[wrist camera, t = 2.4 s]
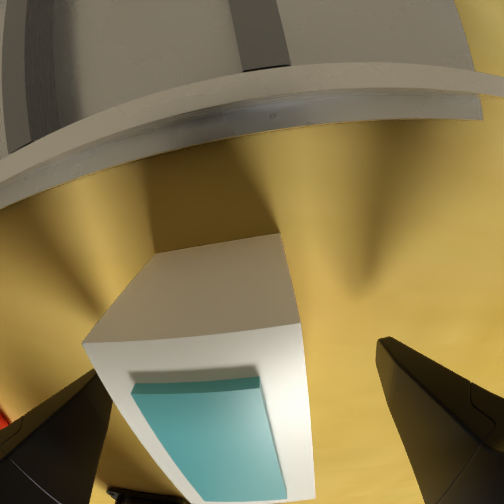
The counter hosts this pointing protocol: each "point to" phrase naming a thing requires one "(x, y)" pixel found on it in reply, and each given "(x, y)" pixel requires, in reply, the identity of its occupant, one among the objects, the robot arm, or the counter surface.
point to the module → (213, 371)
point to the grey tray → (214, 76)
